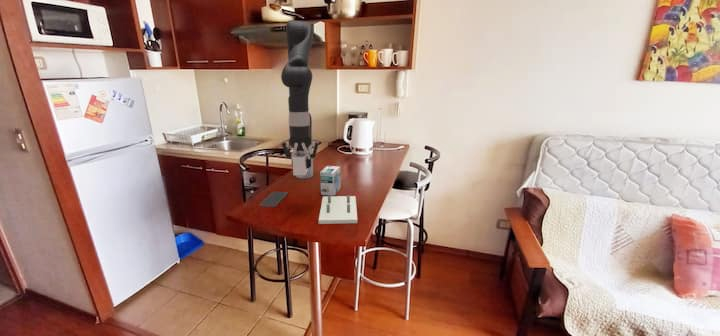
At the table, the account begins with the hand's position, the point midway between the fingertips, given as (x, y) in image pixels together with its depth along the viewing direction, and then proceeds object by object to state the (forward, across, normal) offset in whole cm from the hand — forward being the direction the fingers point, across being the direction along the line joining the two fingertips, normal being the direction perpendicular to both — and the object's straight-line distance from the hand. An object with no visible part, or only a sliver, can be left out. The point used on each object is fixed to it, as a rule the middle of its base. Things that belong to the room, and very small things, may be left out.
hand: (301, 167), depth 117 cm
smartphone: (+18, +14, -10) cm, 25 cm away
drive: (+1, 0, 0) cm, 1 cm away
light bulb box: (+18, -10, -19) cm, 28 cm away
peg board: (+17, -14, +2) cm, 22 cm away
